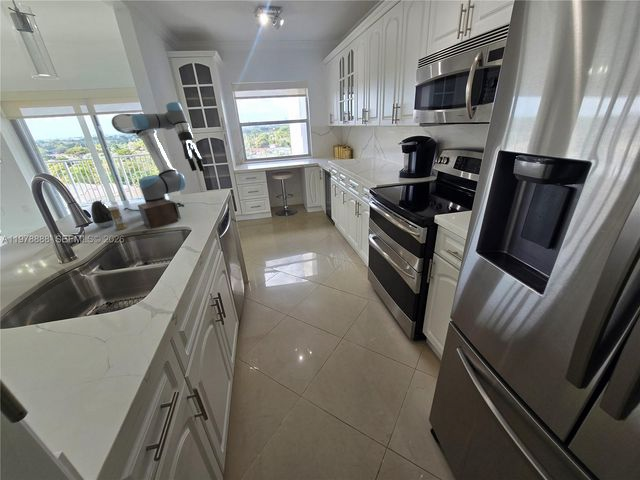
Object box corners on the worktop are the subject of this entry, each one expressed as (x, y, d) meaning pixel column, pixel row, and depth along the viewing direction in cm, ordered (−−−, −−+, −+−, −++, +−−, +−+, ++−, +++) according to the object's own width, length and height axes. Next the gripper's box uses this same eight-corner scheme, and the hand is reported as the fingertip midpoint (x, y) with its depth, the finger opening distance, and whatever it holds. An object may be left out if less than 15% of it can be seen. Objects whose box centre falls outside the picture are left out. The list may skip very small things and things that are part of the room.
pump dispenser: (120, 221, 158) (110, 197, 151) (114, 227, 149) (103, 201, 142) (101, 224, 155) (90, 199, 148) (93, 230, 146) (81, 204, 139)
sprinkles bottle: (123, 229, 144) (114, 206, 138) (115, 230, 144) (105, 207, 138) (128, 226, 148) (119, 204, 143) (119, 227, 148) (110, 205, 142)
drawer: (181, 212, 164) (177, 197, 160) (188, 216, 157) (184, 200, 153) (150, 221, 152) (144, 205, 148) (156, 225, 145) (151, 208, 141)
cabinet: (170, 216, 161) (164, 198, 156) (178, 221, 153) (172, 202, 148) (144, 223, 151) (137, 205, 146) (151, 228, 143) (144, 208, 138)
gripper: (182, 127, 132) (198, 168, 138) (198, 134, 156) (211, 169, 162) (167, 130, 131) (184, 172, 137) (185, 137, 155) (199, 172, 161)
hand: (198, 170), depth 149 cm, fingers open, 13 cm apart
